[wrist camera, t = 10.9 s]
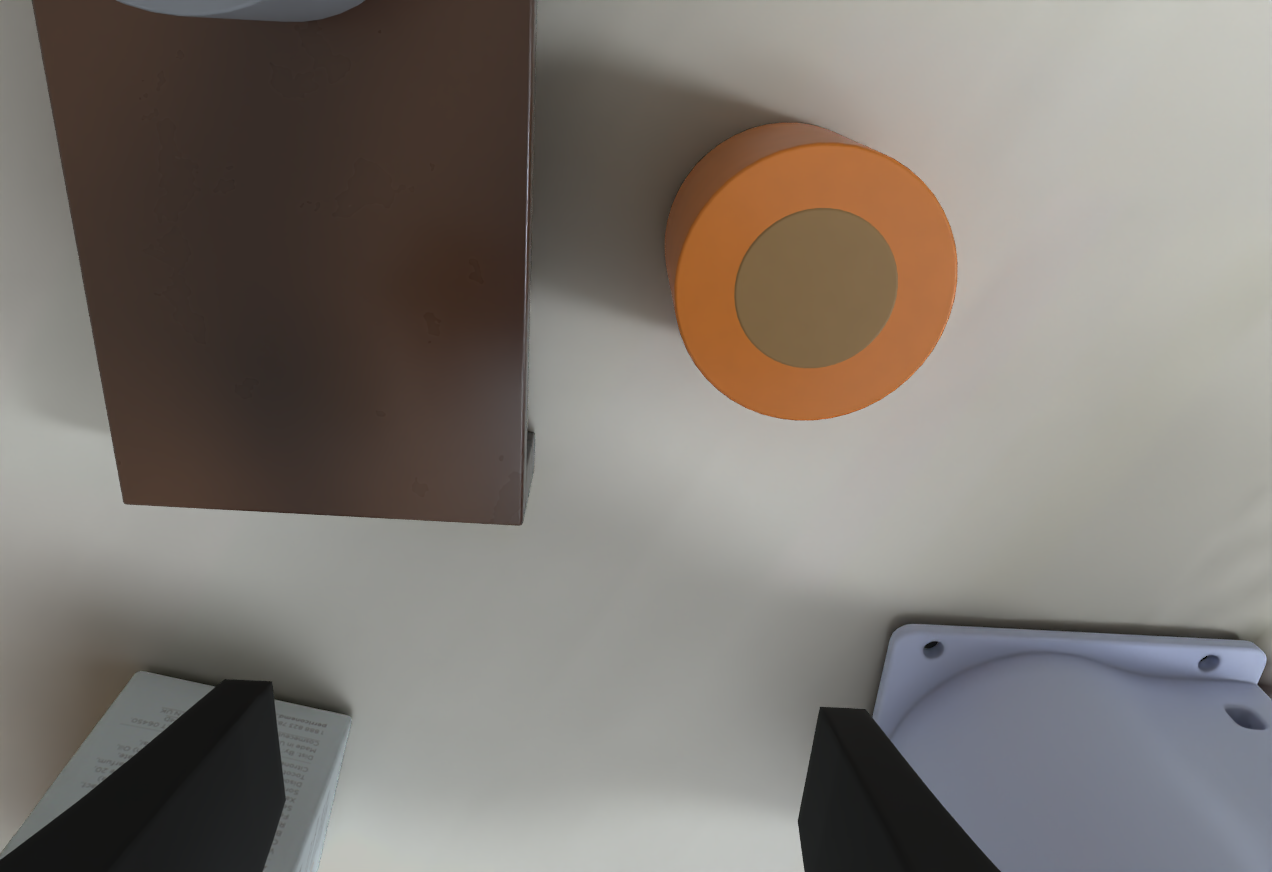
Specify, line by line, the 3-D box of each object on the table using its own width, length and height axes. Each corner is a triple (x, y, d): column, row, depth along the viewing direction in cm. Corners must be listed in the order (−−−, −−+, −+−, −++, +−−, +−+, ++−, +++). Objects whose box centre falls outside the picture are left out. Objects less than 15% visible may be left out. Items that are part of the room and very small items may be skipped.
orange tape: (916, 131, 18) (988, 153, 14) (873, 360, 20) (927, 429, 16) (674, 113, 18) (688, 131, 14) (655, 346, 19) (662, 414, 16)
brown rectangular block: (556, -355, 15) (543, -430, 12) (534, 471, 21) (522, 527, 18) (54, -402, 14) (-61, -491, 12) (180, 450, 20) (122, 505, 18)
